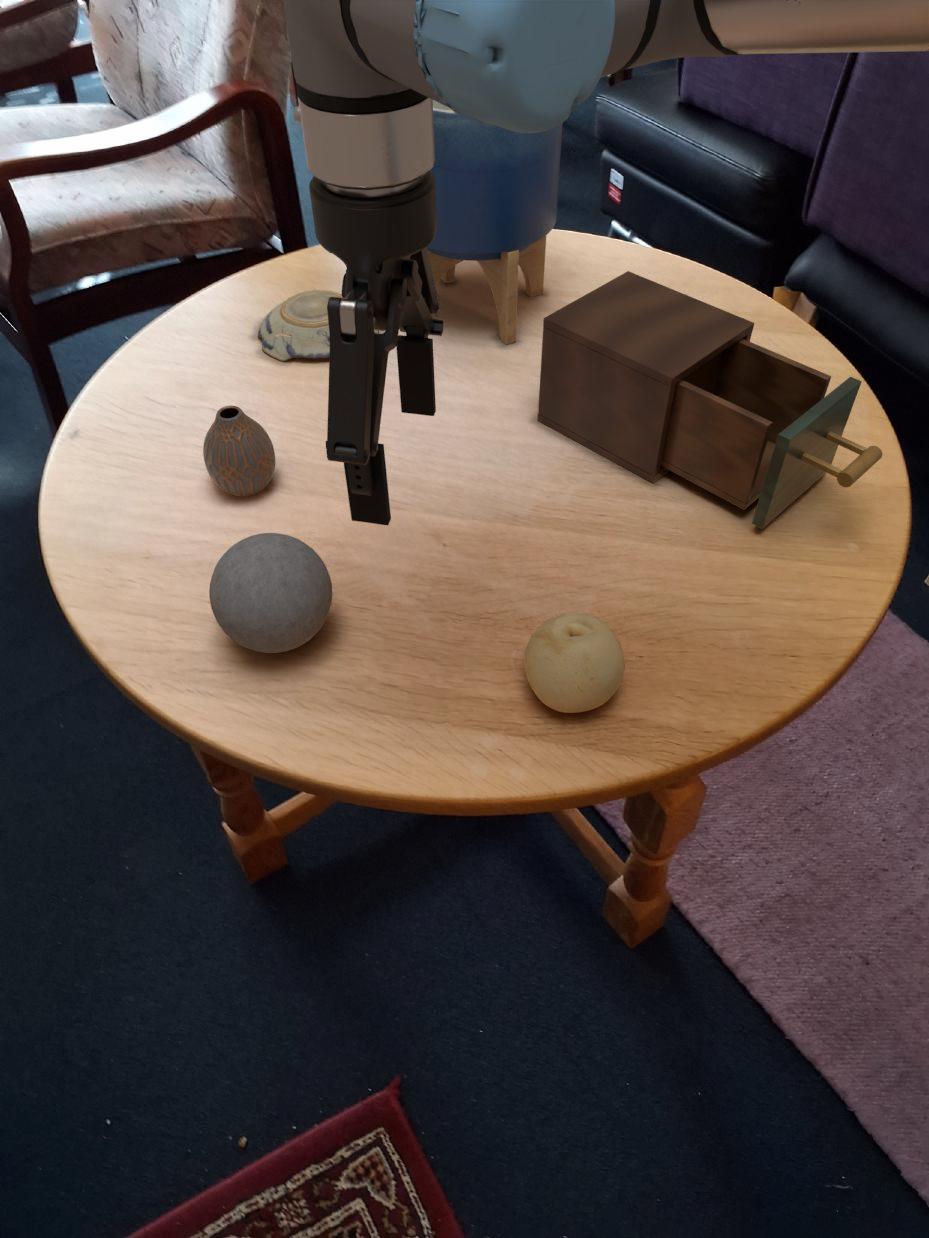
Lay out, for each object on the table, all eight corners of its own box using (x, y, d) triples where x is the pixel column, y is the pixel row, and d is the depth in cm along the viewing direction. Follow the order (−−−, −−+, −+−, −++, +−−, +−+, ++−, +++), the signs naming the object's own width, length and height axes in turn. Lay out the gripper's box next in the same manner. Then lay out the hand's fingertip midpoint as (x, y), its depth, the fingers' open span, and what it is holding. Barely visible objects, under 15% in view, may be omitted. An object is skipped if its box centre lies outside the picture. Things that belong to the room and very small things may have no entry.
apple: (564, 746, 69) (524, 670, 66) (536, 699, 77) (498, 628, 73) (653, 698, 69) (617, 619, 66) (616, 656, 76) (583, 583, 73)
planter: (578, 325, 113) (599, 93, 93) (440, 363, 107) (432, 125, 88) (506, 261, 124) (512, 44, 105) (378, 292, 119) (359, 69, 99)
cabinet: (729, 426, 98) (754, 322, 89) (653, 483, 91) (672, 378, 82) (615, 371, 105) (628, 270, 96) (537, 420, 99) (543, 318, 90)
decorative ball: (199, 639, 78) (170, 555, 70) (284, 576, 83) (265, 492, 75) (277, 696, 73) (255, 614, 66) (362, 626, 79) (350, 542, 71)
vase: (274, 506, 90) (258, 433, 83) (206, 506, 90) (185, 433, 83) (284, 463, 94) (270, 391, 88) (219, 463, 94) (200, 391, 88)
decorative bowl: (232, 340, 111) (320, 379, 105) (226, 312, 108) (316, 350, 102) (316, 293, 119) (402, 326, 113) (312, 266, 117) (400, 299, 110)
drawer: (877, 493, 89) (915, 403, 81) (811, 556, 83) (845, 465, 75) (709, 412, 98) (728, 325, 90) (638, 463, 92) (653, 375, 84)
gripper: (370, 97, 62) (392, 369, 77) (230, 263, 45) (294, 566, 61) (477, 104, 60) (478, 379, 76) (372, 276, 44) (401, 582, 60)
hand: (396, 462), depth 68 cm, fingers open, 13 cm apart
